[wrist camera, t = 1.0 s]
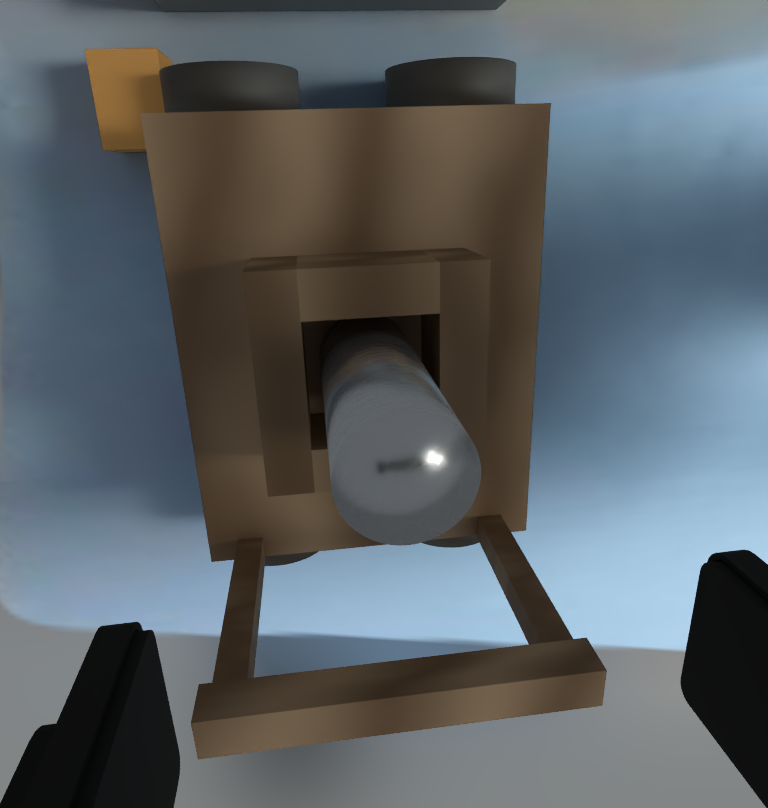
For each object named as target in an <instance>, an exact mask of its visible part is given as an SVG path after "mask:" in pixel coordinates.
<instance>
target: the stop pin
mask: <svg viewBox="0 0 768 808" xmlns="http://www.w3.org/2000/svg"><path fill="white" fill-rule="evenodd" d="M319 359H320V370H321V381H322V392H323V403H324V413H325V424H326V435H327V446H328V456H329V467H330V478H331V488H332V495H333V499H334V502H335V505H336V507H337V509H338V511H339V513H340V514H341V516H342V517H343V519H344V520H345V521H346V522H347V524H348V525H349V526H350V527H352V528H353V529H354V530H355V531H356V532H358V533H359V534H361V535H363V536H364V537H366V538H369V539H371V540H373V541H376V542H380V543H384V544H389V545H411V544H417V543H421V542H425V541H428V540H431V539H433V538H436V537H438V536H440V535H441V534H443V533H445V532H446V531H448V530H449V529H451V528H452V527H453V526H455V525H456V524H457V523H458V522H459V521H460V520H461V519H462V518H463V517H464V516H465V515H466V513H467V512H468V510H469V509H470V508H471V506H472V504H473V502H474V500H475V498H476V495H477V493H478V490H479V486H480V480H481V464H480V459H479V455H478V452H477V449H476V447H475V445H474V443H473V441H472V440H471V438H470V436H469V435H468V433H467V432H466V430H465V429H464V427H463V426H462V424H461V422H460V421H459V419H458V418H457V416H456V415H455V413H454V411H453V410H452V408H451V407H450V405H449V404H448V402H447V401H446V399H445V397H444V396H443V394H442V393H441V391H440V390H439V388H438V387H437V385H436V383H435V382H434V380H433V379H432V377H431V376H430V374H429V373H428V371H427V369H426V368H425V366H424V365H423V363H422V362H421V360H420V359H419V357H418V355H417V354H416V352H415V351H414V349H413V348H412V346H411V345H410V343H409V341H408V340H407V338H406V337H405V335H404V334H403V332H402V331H401V329H400V328H399V327H398V326H397V324H396V323H395V322H393V321H392V320H391V319H389V318H388V317H373V318H357V319H340V320H337V321H336V322H335V323H334V324H333V325H332V326H331V327H330V328H329V329H328V330H327V332H326V334H325V335H324V337H323V340H322V342H321V346H320V352H319Z"/></svg>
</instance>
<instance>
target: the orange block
mask: <svg viewBox="0 0 768 808" xmlns="http://www.w3.org/2000/svg"><path fill="white" fill-rule="evenodd" d="M85 53H86V59H87V64H88V70H89V75H90V81H91V86H92V92H93V97H94V103H95V108H96V114H97V119H98V125H99V130H100V136H101V141H102V147H103V150H107V151H114V152H146V147H145V140H144V134H143V128H142V122H141V115H140V113H165V109H164V102H163V95H162V89H161V82H160V75H159V71H160V69H162V68H165V67H168V66H171V60H170V59H169V58H167V57H166V56H165V55H164V54H163V53H162V52H161V51H159V50H158V49H157V48H127V49H85Z"/></svg>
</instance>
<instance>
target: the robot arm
mask: <svg viewBox="0 0 768 808" xmlns="http://www.w3.org/2000/svg"><path fill="white" fill-rule="evenodd" d="M681 689H682V692H683V695H684V697H685V699H686V701H687V703H688V704H689V705H690V707H691V708H692V709H693V711H694V712H695V713H696V715H697V716H698V717H699V719H700V720H701V721H702V723H703V724H704V725H705V727H706V728H707V729H708V731H709V732H710V733H711V735H712V736H713V737H714V739H715V740H716V741H717V743H718V744H719V745H720V747H721V748H722V749H723V751H724V752H725V753H726V754H727V756H728V757H729V759H730V760H731V761H732V763H733V764H734V765H735V767H736V768H737V769H738V771H739V772H740V773H741V774H742V776H743V777H744V778H745V780H746V781H747V782H748V784H749V785H750V787H751V788H752V789H753V791H754V792H755V793H756V794H757V796H758V797H759V799H760V800H761V801H762V803H763V804H764V805H765V806H766V808H768V565H767V564H766V563H765V562H764V561H763V560H761V559H760V558H759V557H758V556H756V555H755V554H754V553H752V552H750V551H748V550H737V551H729V552H721V553H715V554H712V555H711V556H710V557H709V559H708V562H707V563H705V564H703V566H702V567H701V570H700V575H699V581H698V586H697V592H696V597H695V603H694V608H693V614H692V619H691V625H690V631H689V636H688V642H687V647H686V653H685V659H684V664H683V669H682V675H681ZM179 774H180V755H179V749H178V744H177V739H176V735H175V729H174V725H173V720H172V715H171V710H170V706H169V701H168V696H167V691H166V687H165V682H164V677H163V672H162V667H161V663H160V658H159V653H158V648H157V644H156V639H155V635H154V632H153V631H152V630H146V631H143V630H142V626H141V625H140V623H139V622H132V623H123V624H115V625H107V626H101V627H99V628H98V630H97V632H96V633H95V636H94V638H93V640H92V643H91V645H90V647H89V650H88V652H87V654H86V657H85V659H84V661H83V664H82V666H81V669H80V670H79V673H78V675H77V677H76V680H75V682H74V684H73V687H72V689H71V691H70V694H69V696H68V698H67V700H66V703H65V705H64V707H63V710H62V712H61V714H60V717H59V719H58V721H57V724H50V725H43V726H41V727H40V728H38V729H37V730H36V731H35V733H34V734H33V736H32V738H31V740H30V741H29V743H28V745H27V747H26V749H25V752H24V754H23V756H22V758H21V760H20V763H19V765H18V767H17V769H16V771H15V773H14V775H13V777H12V779H11V782H10V784H9V786H8V788H7V790H6V792H5V795H4V797H3V799H2V801H1V803H0V808H174V802H175V797H176V792H177V786H178V780H179Z"/></svg>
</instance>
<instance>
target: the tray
mask: <svg viewBox="0 0 768 808" xmlns="http://www.w3.org/2000/svg"><path fill="white" fill-rule="evenodd" d="M154 1H155V2H156V3H157V4H158V5H159V7H160V8H161V9H162V10H163V11H164V12H223V11H360V10H496V9H497V8H498V7H499V6H501V5H502V4H503V3H504V2H505V1H506V0H154Z"/></svg>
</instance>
